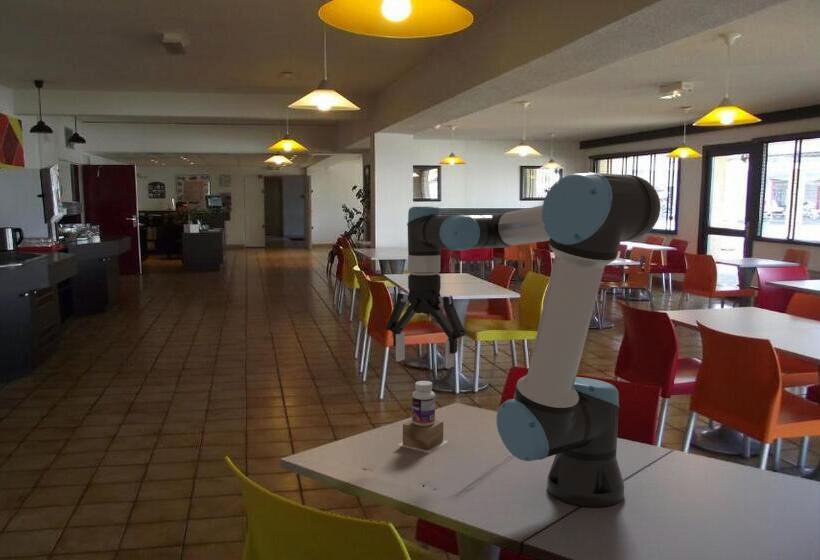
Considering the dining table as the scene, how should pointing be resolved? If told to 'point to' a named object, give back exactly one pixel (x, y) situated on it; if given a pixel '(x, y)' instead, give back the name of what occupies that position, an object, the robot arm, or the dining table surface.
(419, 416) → the pill bottle
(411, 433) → the walnut block
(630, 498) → the dining table surface
